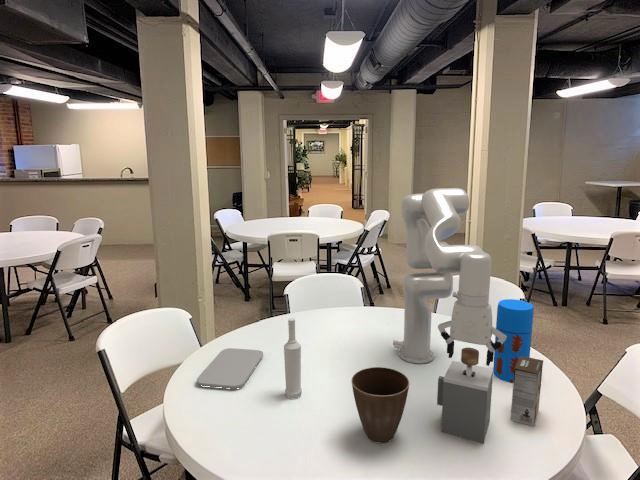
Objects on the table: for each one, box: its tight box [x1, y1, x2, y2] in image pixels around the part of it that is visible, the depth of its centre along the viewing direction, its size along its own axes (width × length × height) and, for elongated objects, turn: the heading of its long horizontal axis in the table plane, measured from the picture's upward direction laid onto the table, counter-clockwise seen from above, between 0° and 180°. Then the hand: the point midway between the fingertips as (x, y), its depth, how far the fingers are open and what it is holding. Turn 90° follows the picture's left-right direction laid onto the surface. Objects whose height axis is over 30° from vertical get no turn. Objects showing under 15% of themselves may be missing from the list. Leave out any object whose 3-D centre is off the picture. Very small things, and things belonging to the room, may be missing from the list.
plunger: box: [460, 347, 480, 377], centre depth 123 cm, size 8×8×19 cm
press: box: [436, 360, 494, 445], centre depth 124 cm, size 13×11×16 cm
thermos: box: [493, 298, 535, 384], centre depth 150 cm, size 11×11×25 cm
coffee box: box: [510, 356, 544, 427], centre depth 128 cm, size 9×6×16 cm
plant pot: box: [351, 366, 410, 444], centre depth 121 cm, size 15×15×16 cm
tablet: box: [196, 347, 264, 389], centre depth 158 cm, size 16×26×2 cm, turn 170°
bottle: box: [283, 317, 303, 399], centre depth 140 cm, size 5×5×25 cm
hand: (469, 359), depth 121 cm, fingers open, 9 cm apart
